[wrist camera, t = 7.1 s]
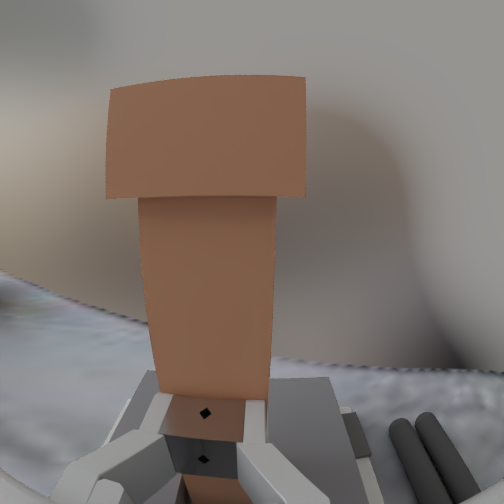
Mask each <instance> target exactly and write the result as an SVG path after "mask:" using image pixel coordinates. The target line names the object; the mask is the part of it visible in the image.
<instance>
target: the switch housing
mask: <svg viewBox="0 0 504 504" xmlns="http://www.w3.org/2000/svg"><path fill="white" fill-rule="evenodd" d="M158 392H160V389H159V384H158V379H157V374H156V371H149V370H147V372H146V374H145V376H144V377H143V379H142V381H141V383H140V385H139V386H138V388H137V390H136V392H135V394H134V396H133V397H132V398H128V400H127V402H126V404H125V405H124V407H123V409H122V411H121V413H120V415H119V416H118V418H117V420H116V422H115V424H114V426H113V427H112V429H111V431H110V433H109V435H108V437H107V439H106V440H105V442H104V444H103V446H104V445H106V444H108V443H110V442H112V441H114V440H115V439H117V438H119V437H121V436H123V435H124V434H126V433H128V432H130V431H132V430H133V429H135V430H139V428H140V426H141V424H142V422H143V420H144V417H145V415H146V413H147V411H148V409H149V406H150V404H151V402H152V400H153V398H154V396H155V394H157V393H158ZM266 443H272V444H273V445H274V446H275V447H276V448H277V449H278V450H279V451H280V452H281V453H282V454H283V455H284V456H285V457H286V458H287V459H288V460H289V461H290V462H291V463H292V464H293V465H294V466H295V467H296V468H297V469H298V470H299V471H300V472H301V473H302V474H303V475H304V476H305V477H306V478H307V479H308V480H309V481H311V482H312V483H313V484H314V485H315V486H316V487H317V488H318V489H319V490H320V491H321V492H323V493H324V494H325V495H326V496H327V497H328V498H329V500H330V504H385V503H384V500H383V497H382V494H381V491H380V488H379V485H378V482H377V479H376V476H375V473H374V471H373V468H372V465H371V462H370V459H369V457H370V456H371V451H370V448H369V446H368V443H367V440H366V438H365V435H364V432H363V430H362V427H361V425H360V422H359V419H358V417H357V414H356V412H354V413H352V410H351V407H350V406H348V407H339V406H338V403H337V400H336V397H335V394H334V391H333V388H332V385H331V382H330V380H329V377H318V378H291V379H269V393H268V409H267V424H266ZM176 474H177V475H176V476H174V477H173V478H172V479H171V480H170V481H169V482H168V483H167V484H165V485H164V486H163V487H162V488H161V489H160V490H159V491H157V492H156V493H155V494H154V495H153V496H151V497H150V498H149V499H148V500H147V501H145V502H144V503H143V504H193V503H192V501H191V498H190V495H189V492H188V490H187V487H186V484H185V481H184V478H183V475H182V474H180V473H176Z"/></svg>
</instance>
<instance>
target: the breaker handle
mask: <svg viewBox="0 0 504 504" xmlns="http://www.w3.org/2000/svg"><path fill="white" fill-rule="evenodd" d="M277 196H289V197H305V196H306V83H305V77H294V76H276V75H224V76H223V75H221V76H204V77H190V78H180V79H171V80H164V81H155V82H149V83H143V84H136V85H131V86H125V87H120V88H115V89H111V94H110V103H109V113H108V125H107V143H106V199H117V198H136V197H138V216H139V238H140V252H141V266H142V277H143V287H144V296H145V305H146V312H147V320H148V327H149V334H150V340H151V346H152V352H153V358H154V363H155V369H156V374H157V379H158V384H159V389H160V392H162V393H168V394H174V395H175V394H177V395H184V396H192V397H201V398H213V399H231V400H264V401H265V415H266V424H267V409H268V393H269V377H270V359H271V340H272V319H273V297H274V270H275V239H276V201H277ZM182 475H183V478H184V481H185V484H186V487H187V490H188V492H189V495H190V498H191V501H192V503H193V504H254V503H253V502H252V500H251V499H250V498H249V496H248V495H247V493H246V492H245V490H244V489H243V487H242V486H241V484H240V483H239V481H238V479H227V478H216V477H208V476H197V475H188V474H182Z"/></svg>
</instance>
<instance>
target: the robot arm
mask: <svg viewBox="0 0 504 504" xmlns="http://www.w3.org/2000/svg"><path fill="white" fill-rule="evenodd" d="M176 473H180V474H188V475H197V476H208V477H216V478H227V479H238V481H239V483H240V484H241V486H242V487H243V489H244V490H245V492H246V493H247V495H248V496H249V498H250V499H251V500H252V502H253V503H254V504H330V500H329V498H328V497H327V496H326V495H325V494H324V493H323V492H321V491H320V490H319V489H318V488H317V487H316V486H315V485H314V484H313V483H312V482H311V481H309V480H308V479H307V478H306V477H305V476H304V475H303V474H302V473H301V472H300V471H299V470H298V469H297V468H296V467H295V466H294V465H293V464H292V463H291V462H290V461H289V460H288V459H287V458H286V457H285V456H284V455H283V454H282V453H281V452H280V451H279V450H278V449H277V448H276V447H275V446H274V445H273V444H272V443H266V415H265V401H264V400H231V399H213V398H201V397H192V396H184V395H177V394H175V395H174V394H168V393H162V392H158V393H157V394H155V396H154V398H153V400H152V402H151V404H150V406H149V409H148V411H147V413H146V415H145V417H144V420H143V422H142V424H141V426H140V428H139V430H135V429H133V430H132V431H130V432H128V433H126V434H124V435H123V436H121V437H119V438H117V439H115V440H114V441H112V442H110V443H108V444H106V445H104V446H102V447H100V448H99V449H97V450H95V451H93V452H91V453H89V454H87V455H85V456H83V457H81V458H79V459H77V460H75V461H73V462H71V463H68V465H67V467H66V468H65V470H64V472H63V473H62V475H61V477H60V479H59V480H58V482H57V484H56V485H55V487H54V489H53V491H52V492H51V494H50V496H49V498H47V497H45V496H43V495H42V494H40V493H38V492H36V491H35V490H33V489H31V488H30V487H28V486H26V485H25V484H23V483H21V482H20V481H18V480H17V479H15V478H14V477H12V476H11V475H9V474H8V473H6V472H5V471H3V470H2V469H1V468H0V504H143V503H144V502H145V501H147V500H148V499H149V498H150V497H151V496H153V495H154V494H155V493H156V492H157V491H159V490H160V489H161V488H162V487H163V486H164V485H165V484H167V483H168V482H169V481H170V480H171V479H172V478H173V477H174V476H176V475H177V474H176ZM459 504H504V478H503V479H501V480H499V481H498V482H496V483H495V484H493V485H492V486H490V487H488V488H487V489H485V490H483V491H482V492H480V493H478V494H476V495H475V496H473V497H471V498H469V499H467V500H465V501H463V502H461V503H459Z"/></svg>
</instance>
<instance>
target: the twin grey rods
mask: <svg viewBox="0 0 504 504" xmlns="http://www.w3.org/2000/svg"><path fill="white" fill-rule="evenodd" d="M415 428H416V430H417V432H418V433H419V435H420V437H421V439H422V441H423V442H424V444H425V446H426V448H427V450H428V451H429V453H430V455H431V457H432V459H433V461H434V463H435V465H436V466H437V468H438V470H439V472H440V474H441V476H442V478H443V480H444V482H445V484H446V486H447V488H448V490H449V492H450V494H451V496H452V498H453V500H454V502H455V504H459V503H461V502H463V501H465V500H467V499H469V498H471V497H473V496H475V495H476V494H478V493H480V492H481V490H480V489H479V487H478V485H477V483H476V482H475V480H474V478H473V476H472V475H471V473H470V471H469V470H468V468H467V466H466V465H465V463H464V461H463V460H462V458H461V456H460V455H459V453H458V452H457V450H456V448H455V447H454V445H453V444H452V442H451V440H450V439H449V437H448V436H447V434H446V433H445V431H444V429H443V428H442V426H441V425H440V423H439V422H438V420H437V419H436V417H435V416H434V415H433V414H432V413H430V412H425V413H422V414H420V415H419V416H418V417H417V419H416V421H415ZM389 435H390V437H391V439H392V441H393V444H394V446H395V448H396V450H397V452H398V455H399V457H400V459H401V461H402V464H403V466H404V468H405V470H406V473H407V475H408V477H409V480H410V482H411V484H412V487H413V489H414V491H415V494H416V496H417V499H418V501H419V503H420V504H452V502H451V500H450V498H449V496H448V494H447V492H446V490H445V488H444V486H443V484H442V482H441V480H440V478H439V476H438V474H437V472H436V470H435V468H434V466H433V464H432V463H431V461H430V459H429V457H428V455H427V453H426V451H425V449H424V448H423V446H422V444H421V442H420V440H419V438H418V437H417V435H416V433H415V431H414V429H413V427H412V426H411V424H410V422H409V421H408V420H406V419H404V418H400V419H396V420H395V421H393V422H392V423H391V425H390V427H389Z"/></svg>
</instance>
